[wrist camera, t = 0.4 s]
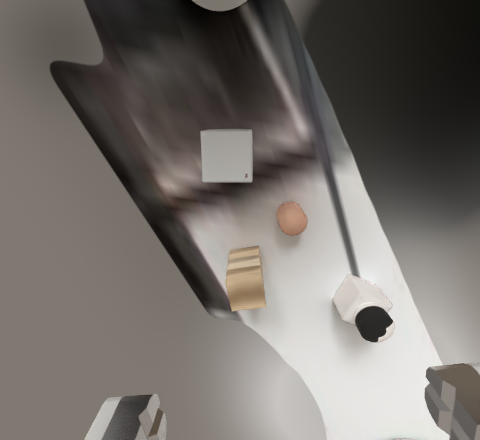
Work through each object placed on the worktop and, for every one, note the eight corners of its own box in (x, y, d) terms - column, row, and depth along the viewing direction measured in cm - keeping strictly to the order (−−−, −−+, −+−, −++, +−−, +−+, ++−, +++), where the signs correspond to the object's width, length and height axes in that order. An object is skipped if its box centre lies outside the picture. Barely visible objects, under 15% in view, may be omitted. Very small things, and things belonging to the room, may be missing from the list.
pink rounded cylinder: (275, 203, 53) (277, 211, 48) (300, 199, 52) (306, 207, 47) (278, 227, 54) (281, 237, 50) (303, 223, 54) (308, 233, 49)
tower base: (229, 250, 56) (228, 259, 52) (258, 246, 56) (259, 254, 52) (234, 274, 58) (233, 285, 54) (262, 271, 58) (263, 281, 54)
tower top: (227, 269, 49) (225, 281, 45) (260, 265, 48) (261, 277, 44) (233, 297, 51) (231, 311, 47) (264, 293, 50) (266, 307, 46)
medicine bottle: (331, 298, 60) (350, 339, 48) (348, 272, 57) (372, 309, 46) (359, 309, 60) (385, 352, 49) (377, 284, 58) (408, 323, 47)
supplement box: (252, 128, 48) (254, 129, 36) (251, 170, 50) (253, 184, 39) (211, 127, 48) (199, 129, 36) (212, 169, 51) (201, 183, 39)
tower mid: (228, 259, 52) (227, 269, 49) (259, 254, 52) (260, 265, 48) (233, 285, 54) (232, 297, 51) (263, 281, 54) (264, 293, 50)
